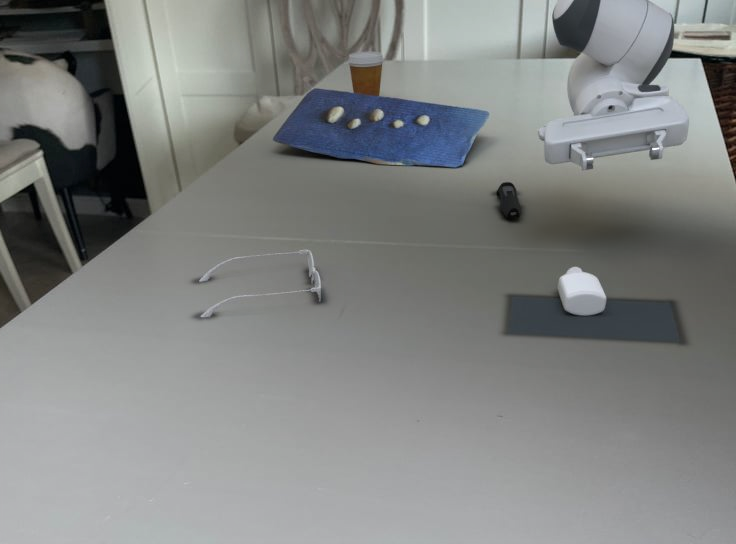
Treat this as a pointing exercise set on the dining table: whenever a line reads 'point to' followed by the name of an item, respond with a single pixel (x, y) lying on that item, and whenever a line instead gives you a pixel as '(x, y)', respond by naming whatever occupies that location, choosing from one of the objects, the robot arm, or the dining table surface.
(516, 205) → the electric trimmer
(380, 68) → the disposable coffee cup
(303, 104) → the mat
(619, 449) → the dining table surface
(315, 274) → the eyeglasses
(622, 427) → the dining table surface
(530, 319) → the mat
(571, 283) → the eye dropper bottle
